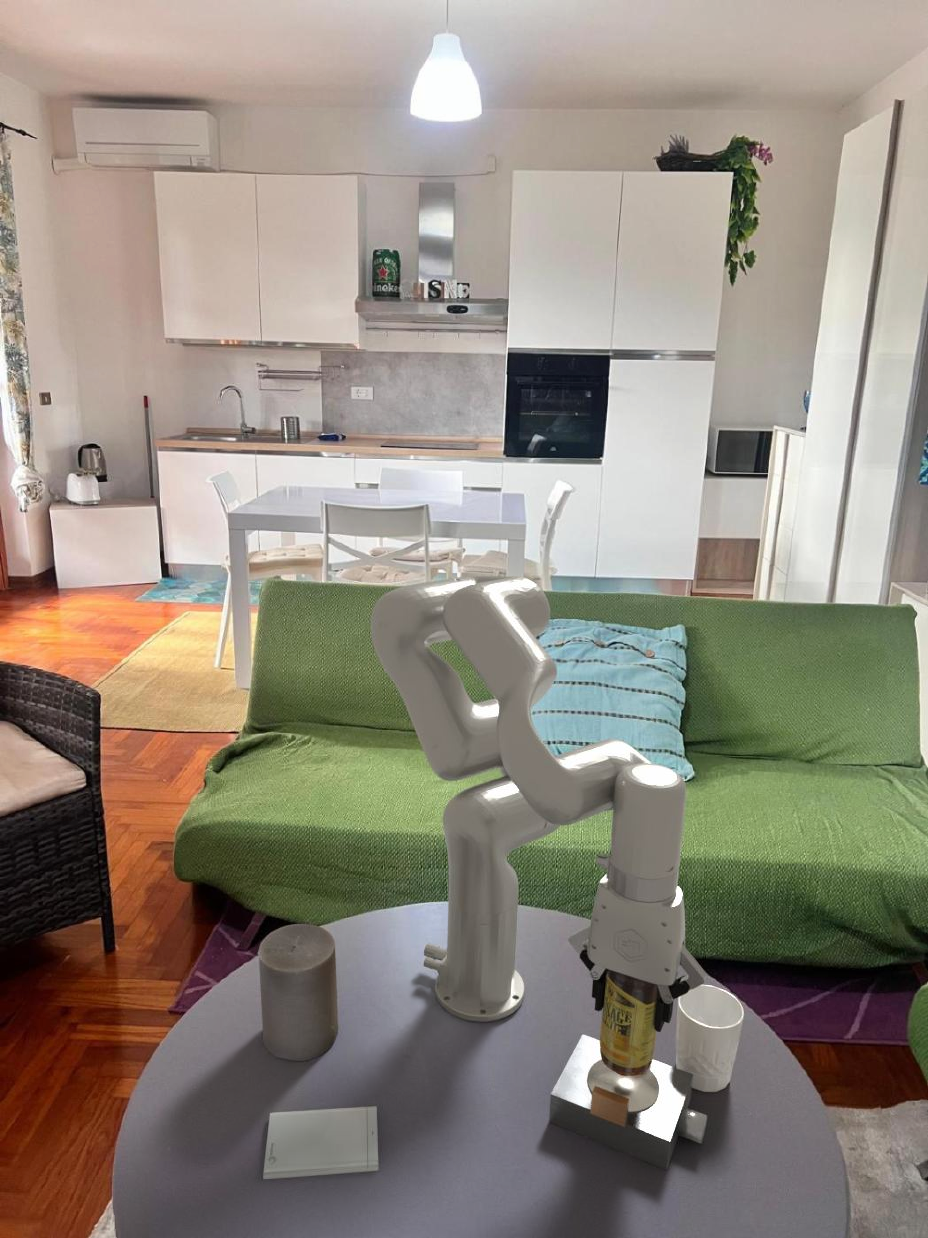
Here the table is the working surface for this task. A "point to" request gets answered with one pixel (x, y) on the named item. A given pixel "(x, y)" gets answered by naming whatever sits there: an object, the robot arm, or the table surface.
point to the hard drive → (321, 1142)
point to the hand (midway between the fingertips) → (630, 1012)
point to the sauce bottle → (628, 1024)
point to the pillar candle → (298, 991)
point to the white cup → (708, 1036)
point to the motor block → (626, 1105)
